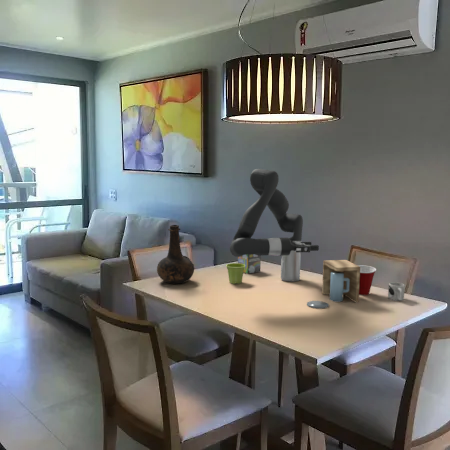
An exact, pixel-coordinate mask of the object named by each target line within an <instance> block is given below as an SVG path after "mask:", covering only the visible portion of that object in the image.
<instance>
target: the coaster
mask: <svg viewBox="0 0 450 450" xmlns="http://www.w3.org/2000/svg"><path fill="white" fill-rule="evenodd" d="M306 306H307V307H309V308H310V309H311V308H312V309H317V310H318V309H321V310H322V309H327V308H328V307H330V305H329V303H328V302H326V301H322V300H310V301H309V300H308V301H307V302H306Z"/></svg>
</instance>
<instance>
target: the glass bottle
mask: <svg viewBox="0 0 450 450" xmlns="http://www.w3.org/2000/svg"><path fill="white" fill-rule="evenodd" d="M168 231H169V244H168V253H167V255H166V257H164V258H162V259H161V260H159V262H158V264H157V266H156V273H157V274H158V277H159V278H160V279H161V280H162V281H163V282H165V283H167V284H172V285H173V284H175V285H177V284H184V283H186V282H188V281H189V280H190V279H191V278H192V277H193V275H194V273H195V267H194V264H193V262H192V260H191V259H190V258H189V257H188V256H186V255H183V253H182V248H181V242H180V231H181V228H180V226H179V225H178V224H170V225H169V228H168Z"/></svg>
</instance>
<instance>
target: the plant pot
mask: <svg viewBox="0 0 450 450" xmlns="http://www.w3.org/2000/svg"><path fill="white" fill-rule="evenodd" d="M225 266H226V269H227V274H228V281H229V283H230V284H233V285H236V284H241V283H242V282H243V276H244V272H243V271H244V267H245V265H244V264H240V263H238V262H234V263H233V262H232V263H227V264H226V265H225Z"/></svg>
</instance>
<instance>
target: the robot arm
mask: <svg viewBox="0 0 450 450" xmlns="http://www.w3.org/2000/svg"><path fill="white" fill-rule="evenodd" d="M249 182H250V185H251V187H252V189H253V190H254V191H255V192H256V193H257V194H258V195H259V197H258V199H256V201H255V202H254V203H252V204H251V205H250V206H249V207H248V208H247V209H246V210H245V211H244V213H243V214H242V217H241V220H240V222H239V225H238V227H237V228H238V229H237V231H236V232H235V234H234V237H233V239H232V240H231V243H230V246H229V251H230V253H231V255H232V256H234V257H237V258H238V257H241V256H243V255H248V254H255V255H261V256H273V257H274V256H275V257H279V256H280V257H281V260H280V279H281V281H283V282H284V281H285V282H298V281H300V278H301V254H302V253H311V251H314V252H315V251H319V249H320V248H319V247H320V246H319V245H317V244H312V241H302V239H303V238H302V237H303V225H304V224H303V222H304V220H303V217H302V215H301V214H298V213H297V214H296V213H287V212H288V210H289V206H290V204H289V201H288V199H287V197H286V195H285V194H284V193H283V192H282V191H281V190H279V189H278V188H277V187H278V185H279V174H278V172H277V171H276V170H271V169H264V168H256V169H253V170H252V172H251V173H250V176H249ZM266 207H267V208H268V209H269V210H270V212H271V213H272V214H273V217H274V218H275V220H276V222H277V225H278V226H279V228H280V230H281V231H282V232H285V233H292V236H291V237H271V238H252V237H253V236H254V234H255V232H256V229H257V226H258V224H259V221H260V219H261V217H262V214H263V213H264V210H265V209H266Z"/></svg>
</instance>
